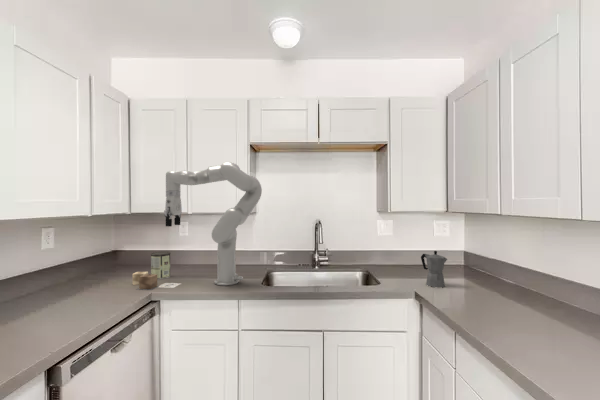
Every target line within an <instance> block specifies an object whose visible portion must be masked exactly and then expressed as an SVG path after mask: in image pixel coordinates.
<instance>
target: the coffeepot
mask: <svg viewBox="0 0 600 400" xmlns="http://www.w3.org/2000/svg"><path fill="white" fill-rule="evenodd" d="M420 259H421V263H422V266H423V269H424V270H428V273H427V278H426V282H425V285H426V286H427V285H428V286H427V287H429V286H432V287H431V288H435V287H442V288H444V287H446V284H445V278H444V273H443V270H444V267H445V263H446V262H447V261H448V258H446V257H445V256H442V255H440V254H438V251H437V250H434V251H433V254H427V253H422V254H421V256H420ZM425 260H426V262H425ZM426 265H427V267H426Z"/></svg>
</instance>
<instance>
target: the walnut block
mask: <svg viewBox="0 0 600 400" xmlns="http://www.w3.org/2000/svg"><path fill="white" fill-rule="evenodd" d="M157 286H158V279H157V274H151V273H150V274H149V273H148V274H145V275H143V276H140V277H139V285H138V287H139V289H153V288H155V287H157ZM157 288H158V287H157ZM155 289H156V288H155ZM153 290H154V289H153Z"/></svg>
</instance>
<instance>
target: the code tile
mask: <svg viewBox="0 0 600 400" xmlns="http://www.w3.org/2000/svg"><path fill="white" fill-rule="evenodd" d="M179 285H182V283H180V282H179V283H177V282H164V283H162V284H160V285H158V286H159V287H158V288H167V289H169V288H170V289H174V288H176V287H178V286H179Z"/></svg>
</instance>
